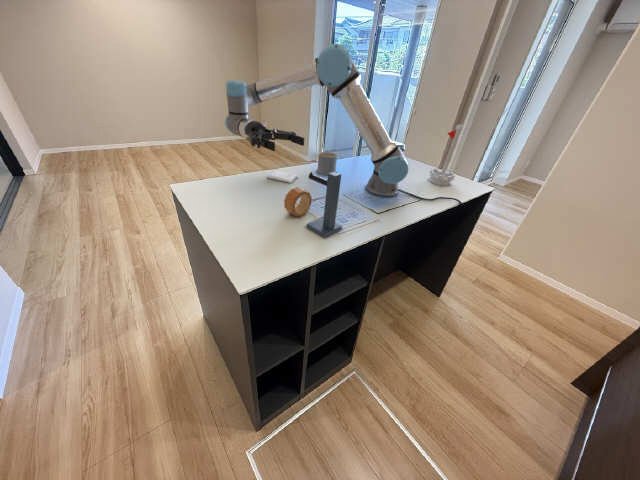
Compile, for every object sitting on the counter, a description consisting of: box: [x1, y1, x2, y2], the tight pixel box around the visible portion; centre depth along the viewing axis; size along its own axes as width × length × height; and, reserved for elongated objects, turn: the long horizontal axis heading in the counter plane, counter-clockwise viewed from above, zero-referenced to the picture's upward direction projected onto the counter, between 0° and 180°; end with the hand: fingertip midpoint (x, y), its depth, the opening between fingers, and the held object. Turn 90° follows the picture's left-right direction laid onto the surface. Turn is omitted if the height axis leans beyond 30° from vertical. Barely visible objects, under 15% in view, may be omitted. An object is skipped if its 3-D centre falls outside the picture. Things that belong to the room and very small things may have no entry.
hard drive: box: [267, 170, 298, 184], centre depth 126 cm, size 2×8×12 cm
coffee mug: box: [317, 151, 338, 177], centre depth 137 cm, size 13×10×10 cm
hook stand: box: [306, 171, 343, 239], centre depth 86 cm, size 9×13×21 cm
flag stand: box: [428, 124, 463, 187], centre depth 133 cm, size 13×13×30 cm
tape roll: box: [283, 186, 313, 218], centre depth 95 cm, size 10×5×10 cm, turn 137°
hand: (289, 144), depth 87 cm, fingers open, 13 cm apart
